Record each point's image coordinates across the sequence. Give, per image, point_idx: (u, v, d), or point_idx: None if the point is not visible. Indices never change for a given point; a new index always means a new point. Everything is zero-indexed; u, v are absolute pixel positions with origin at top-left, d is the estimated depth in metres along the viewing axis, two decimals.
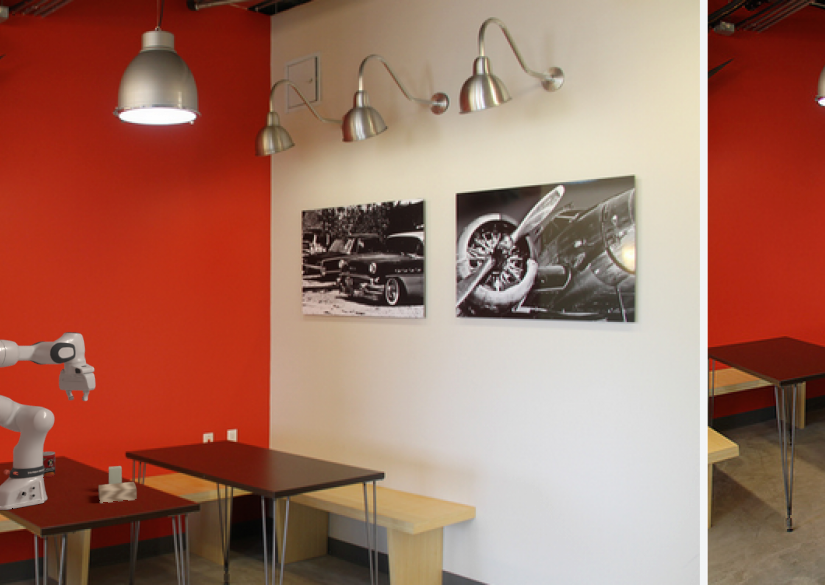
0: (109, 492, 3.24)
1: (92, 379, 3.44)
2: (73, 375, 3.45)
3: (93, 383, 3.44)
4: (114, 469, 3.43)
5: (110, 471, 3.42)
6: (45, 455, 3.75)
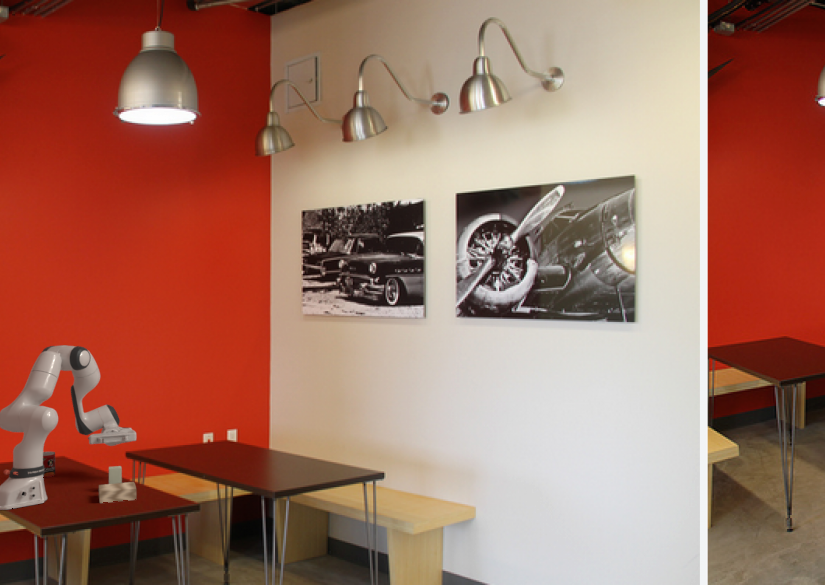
0: (109, 492, 3.24)
1: None
2: (116, 430, 3.68)
3: None
4: (114, 469, 3.43)
5: (110, 471, 3.42)
6: (45, 455, 3.75)
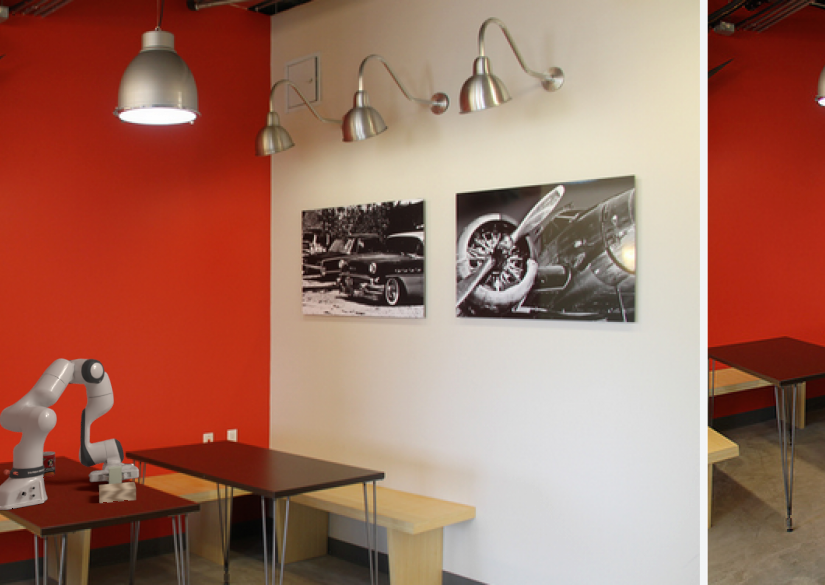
0: (108, 492, 3.24)
1: None
2: None
3: None
4: (114, 469, 3.43)
5: (110, 471, 3.42)
6: (45, 455, 3.75)
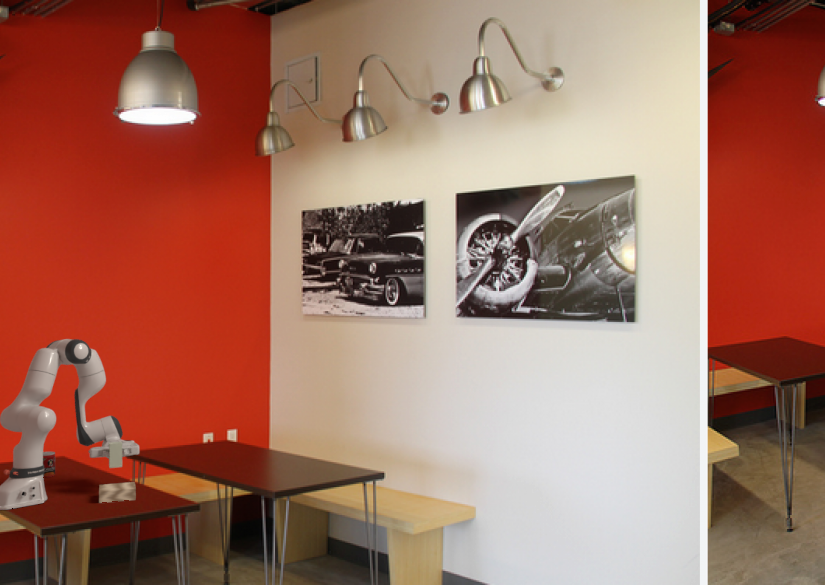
0: (108, 492, 3.24)
1: None
2: None
3: None
4: (114, 444, 3.38)
5: (110, 446, 3.37)
6: (45, 455, 3.75)
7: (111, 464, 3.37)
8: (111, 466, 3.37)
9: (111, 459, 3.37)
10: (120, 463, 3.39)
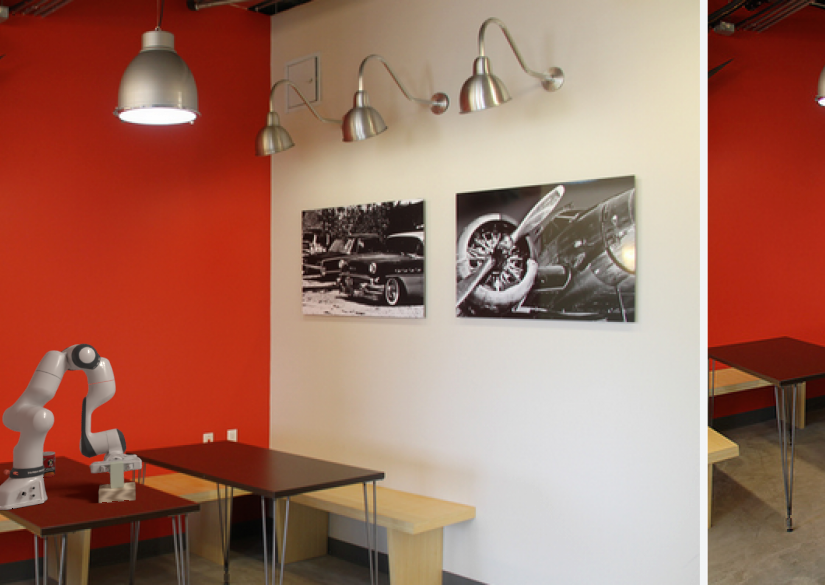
0: (108, 492, 3.24)
1: None
2: (120, 458, 3.42)
3: None
4: (115, 464, 3.29)
5: (111, 466, 3.29)
6: (45, 455, 3.75)
7: (112, 484, 3.29)
8: (112, 486, 3.29)
9: (112, 479, 3.29)
10: (122, 483, 3.30)
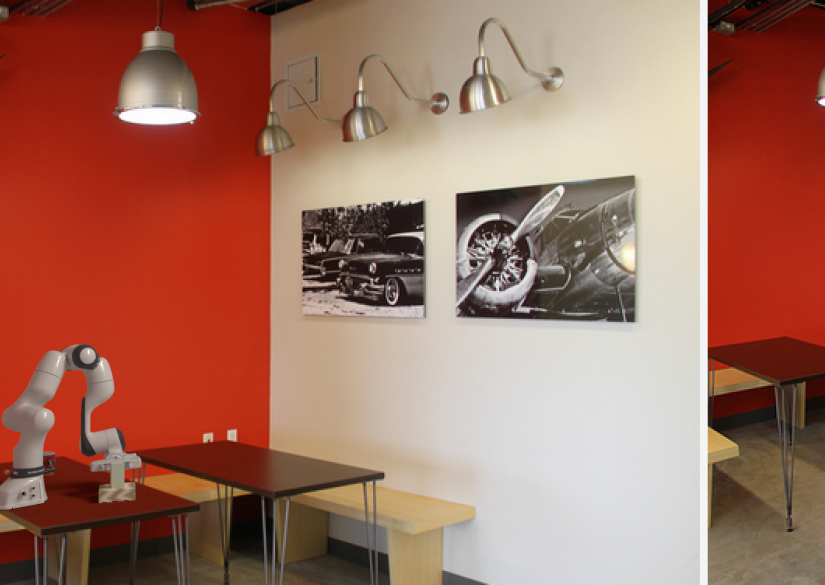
0: (108, 492, 3.24)
1: None
2: (119, 456, 3.45)
3: None
4: (116, 464, 3.29)
5: (112, 466, 3.28)
6: (45, 455, 3.75)
7: (113, 484, 3.28)
8: (113, 487, 3.28)
9: (113, 479, 3.28)
10: (122, 483, 3.30)
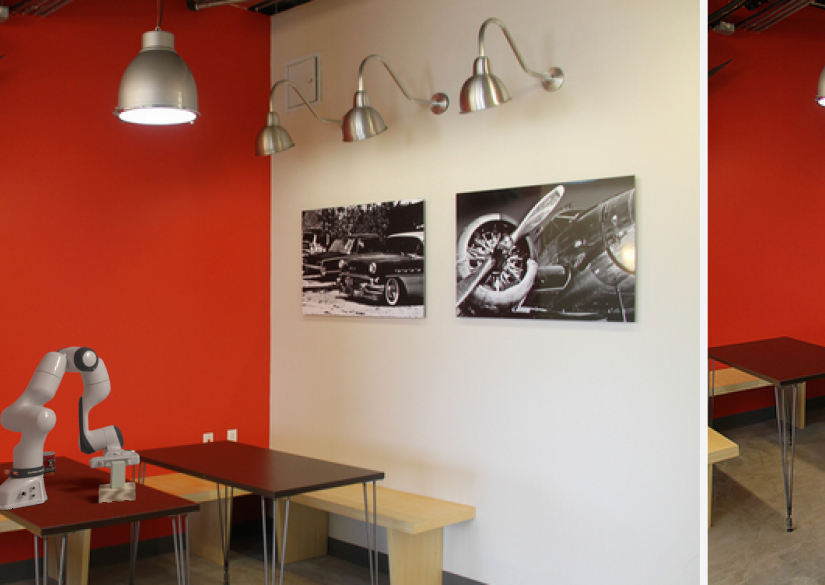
0: (108, 492, 3.24)
1: None
2: (118, 453, 3.53)
3: None
4: (118, 464, 3.29)
5: (113, 466, 3.29)
6: (45, 455, 3.75)
7: (114, 484, 3.29)
8: (113, 486, 3.29)
9: (114, 479, 3.29)
10: (123, 483, 3.30)
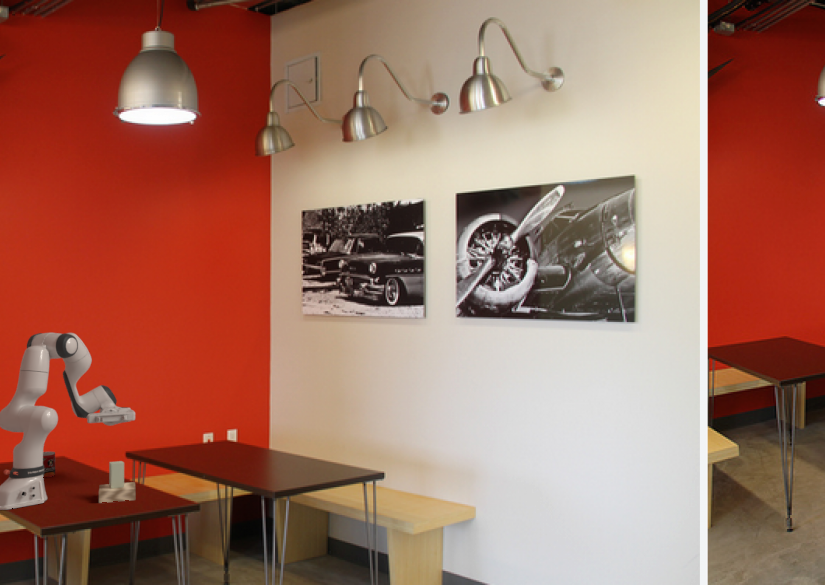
0: (108, 492, 3.24)
1: None
2: (115, 410, 3.63)
3: None
4: (116, 464, 3.29)
5: (112, 466, 3.29)
6: (45, 455, 3.75)
7: (113, 484, 3.28)
8: (113, 486, 3.28)
9: (113, 479, 3.29)
10: (122, 483, 3.30)
